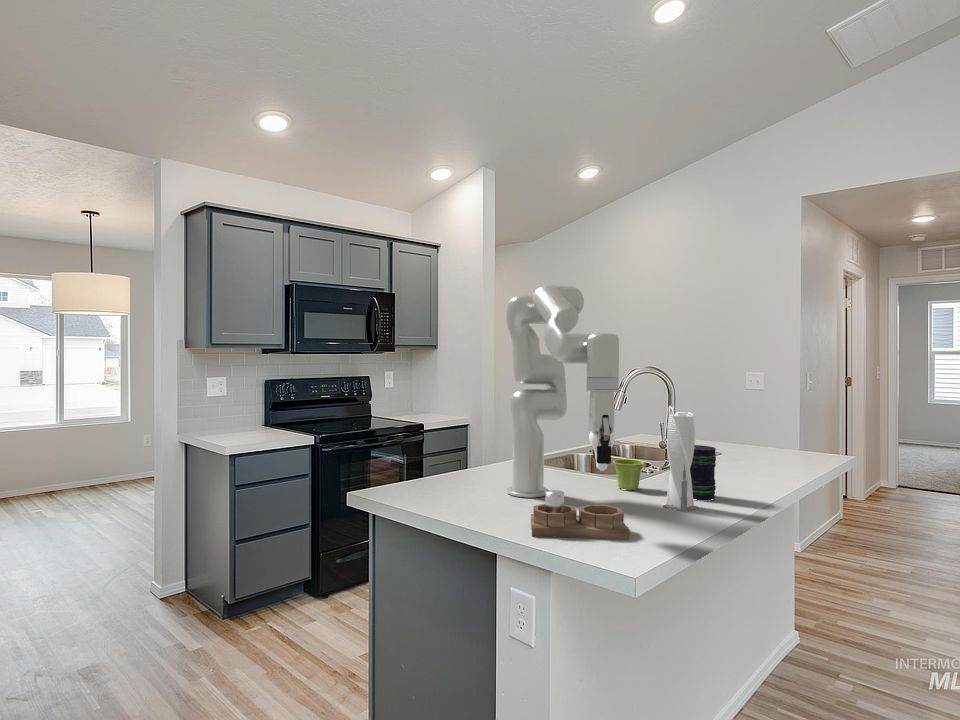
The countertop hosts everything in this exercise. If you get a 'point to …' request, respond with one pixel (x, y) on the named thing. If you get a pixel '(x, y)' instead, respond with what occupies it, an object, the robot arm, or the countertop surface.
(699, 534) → the countertop surface
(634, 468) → the plant pot
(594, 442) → the lightbulb
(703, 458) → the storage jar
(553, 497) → the grey domed cylinder
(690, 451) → the skyscraper
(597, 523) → the socket board
